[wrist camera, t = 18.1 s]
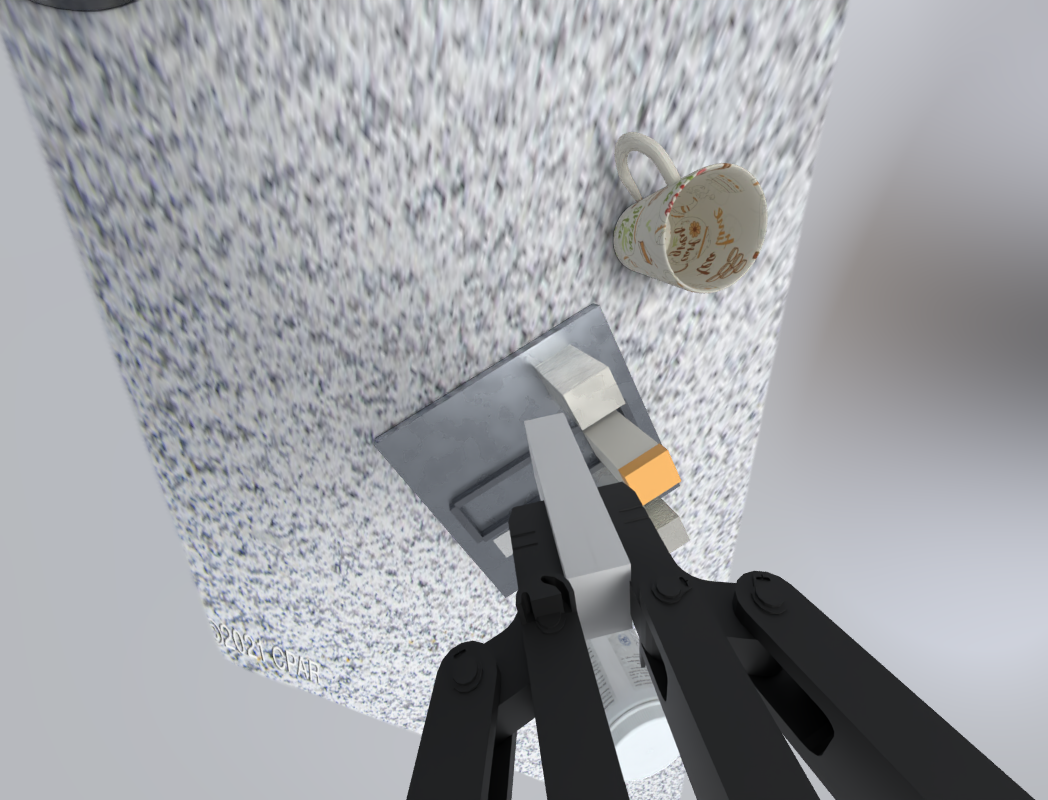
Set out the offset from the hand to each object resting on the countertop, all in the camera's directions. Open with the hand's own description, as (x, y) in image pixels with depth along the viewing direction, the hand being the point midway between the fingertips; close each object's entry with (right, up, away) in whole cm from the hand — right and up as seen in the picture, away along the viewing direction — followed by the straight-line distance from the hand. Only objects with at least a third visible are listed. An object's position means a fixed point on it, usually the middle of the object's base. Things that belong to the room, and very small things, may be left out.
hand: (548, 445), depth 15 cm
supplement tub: (+8, -28, +38) cm, 48 cm away
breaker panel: (+1, -5, +27) cm, 27 cm away
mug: (+9, +18, +21) cm, 29 cm away
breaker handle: (+7, -2, +26) cm, 27 cm away
